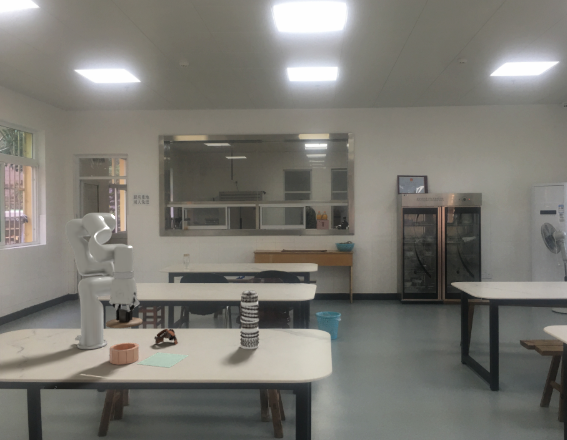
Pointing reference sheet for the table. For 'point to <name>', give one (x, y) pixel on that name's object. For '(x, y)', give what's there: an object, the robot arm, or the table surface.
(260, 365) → the table surface
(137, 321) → the lid
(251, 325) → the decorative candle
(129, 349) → the bowl
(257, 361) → the table surface
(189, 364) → the table surface
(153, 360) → the mat
